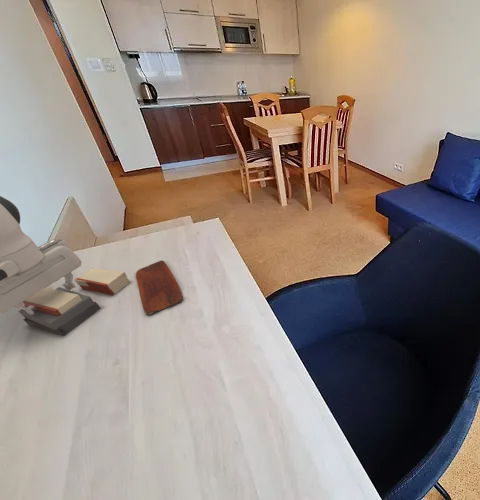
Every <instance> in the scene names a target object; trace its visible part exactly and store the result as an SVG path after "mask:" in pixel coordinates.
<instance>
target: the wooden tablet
mask: <svg viewBox="0 0 480 500" xmlns="http://www.w3.org/2000/svg"><path fill="white" fill-rule="evenodd" d="M135 280H136V283H137V287H138V293H139V298H140V302H141V306H142V309H143V311H144V313H145V314H146V315H148V316H149V315H153V314H155V313H158V312H160V311H162V310H164V309H167V308H170V307H172V306H174V305H175V306H176V304H179V303H180V302H181V301H183V293H182V289H181V287H180V285H179V283H178V281H177V279H176V277H175V275H174V274H173V272H172V271H171V269H170V267H169V265H167V263H166V262H165V261H164V260H158V261H156V262H153V263H151V264H149V265H147V266H144V267H142V268H140V269H138V270H137V271H136V272H135Z"/></svg>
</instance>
